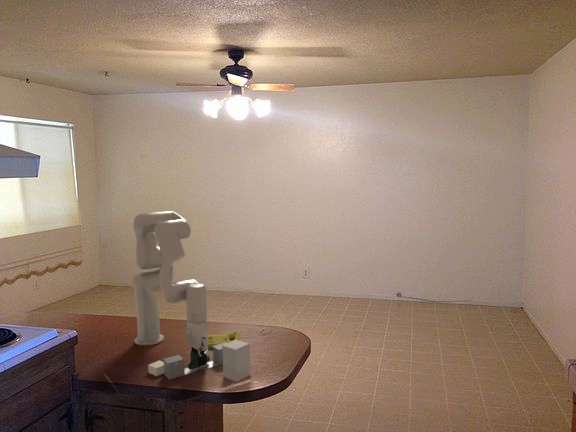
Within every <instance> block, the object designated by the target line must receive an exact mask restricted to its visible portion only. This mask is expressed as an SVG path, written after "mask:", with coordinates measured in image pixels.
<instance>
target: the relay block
mask: <svg viewBox="0 0 576 432" xmlns="http://www.w3.org/2000/svg"><path fill="white" fill-rule="evenodd" d="M147 368H148V374H149V375H153V376H155V377H158V376H160V375H162V374H163V375H164V362H163V361H162V360H160V359H159V360H157V361H154V362H152V363H150V364H148V365H147Z"/></svg>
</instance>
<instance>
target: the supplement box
mask: <svg viewBox="0 0 576 432" xmlns="http://www.w3.org/2000/svg"><path fill="white" fill-rule="evenodd" d="M250 349H251V348H250V343H248V342H245V341H242V340H234V341H232V342H229V343H227V344H225V345H222V353H223V364H222V372H223V374H222V375H223V377H224V378H225V379H228V380H231V381H233V382H235V383H237V384H239V383H240V382H241V380H244V379H246V378H248V377H249V376H252V373H251V352H250Z"/></svg>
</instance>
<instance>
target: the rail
mask: <svg viewBox="0 0 576 432" xmlns="http://www.w3.org/2000/svg"><path fill="white" fill-rule="evenodd" d="M221 365H222V364H220V365H218V364H217V363H216V362H214V361H213V360H211V361H210V360H209V361H208V362H207V365H204V366H201V367H198V368H195V369H188V367H186V368H185V367H184V368H185V375H182V376H186V375H190V374H193V373H195V372H199V371H200V372H201V371H203V370H207V369H210V368H214V367H217V366H221ZM182 376H181V377H182ZM175 378H177V377H175ZM175 378H174V379H175Z"/></svg>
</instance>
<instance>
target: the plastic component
mask: <svg viewBox="0 0 576 432" xmlns="http://www.w3.org/2000/svg"><path fill="white" fill-rule="evenodd" d="M243 331H244V329H243V328H242V329H241V330H240V331H231V332H228V333H226V334H208V349H213V346H215V345H218V344H222V343H229V342H232V341H234V340H239V341H241V340H240V339H241V337H242V334H243ZM201 347H203V345H202V346H201ZM201 347H200V348H201Z"/></svg>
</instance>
